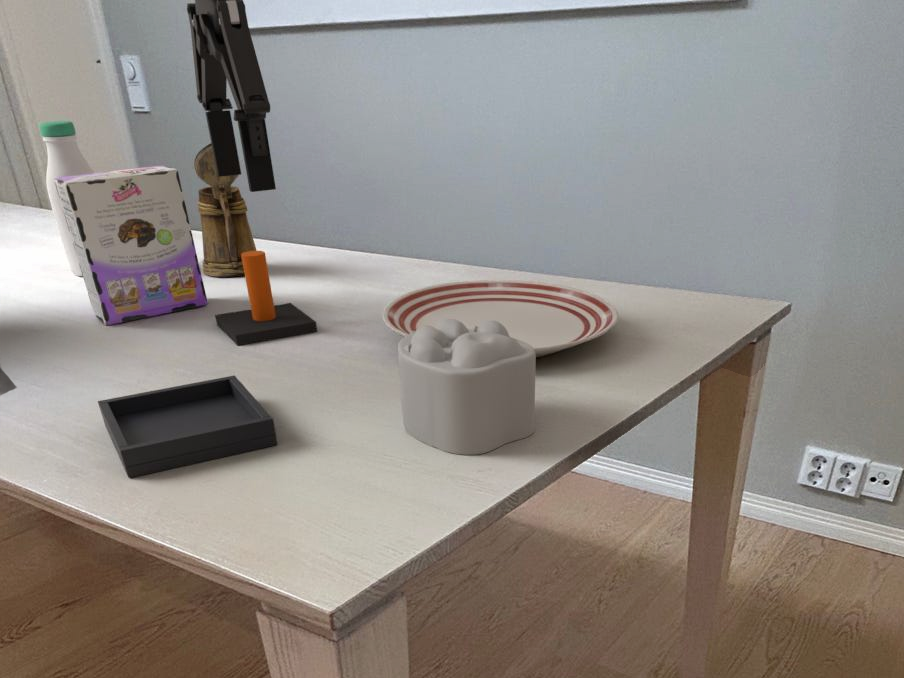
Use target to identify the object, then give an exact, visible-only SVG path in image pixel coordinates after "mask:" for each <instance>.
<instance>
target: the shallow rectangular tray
mask: <svg viewBox="0 0 904 678" xmlns="http://www.w3.org/2000/svg"><path fill="white" fill-rule="evenodd" d="M97 404H98V407H99V410H100V414H101V417H102V420H103V423H104V426H105V429H106V431H107V433H108V435H109V438H110V440H111V443H112V444H113V447H114V449H115V451H116V453H117V456H118V458H119V460H120V462H121V464H122V467H123V469H124V472H125V473H126V476H127V477H128V479H131V478H135V477H140V476H144V475H149V474H153V473H159V472H162V471H167V470H172V469H176V468H181V467H186V466H190V465H193V464H198V463H204V462H208V461H212V460H216V459H221V458H224V457H230V456H233V455H234V456H235V455H238V454H239V455H240V454H242V453H243V454H244V453H246V452H251V451H255V450H261V449H265V448H269V447H274V446H277V445H278V444H279V442H278V437H277V431H276V427H275V421H274V418H273V417H272V416H271V415H270V413H269V412H268V411H267V410H266V409H265V407H263V405H262V404H261V403H260V402H259V401H258V400H257V399H256V398H255V396H254V395H253V394H252V393H251V392H250V391H249V390H248V389H247V388H246V387H245V386H244V384H243V383H242V382H241V381H240V380H239V379H238V378H237V376H236V375H229V376H224V377H223V376H222V377H219V378H213V379H208V380H202V381H198V382H191V383H187V384H182V385H176V386H170V387H166V388H160V389H155V390H150V391H143V392H138V393H135V394H133V393H132V394H129V395H123V396H118V397H112V398H108V399H107V398H106V399H102V400H98V401H97ZM278 446H279V445H278Z"/></svg>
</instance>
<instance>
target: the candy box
mask: <svg viewBox="0 0 904 678" xmlns="http://www.w3.org/2000/svg"><path fill="white" fill-rule="evenodd" d="M54 181H55V185H56V188H57V191H58V195H59V198H60V201H61V205H62V208H63V211H64V215H65V218H66V221H67V225H68V228H69V231H70V234H71V238H72V241H73V245H74V248H75V251H76V255H77V258H78V262H79V265H80V268H81V271H82V275H83V276H82V277H83V278H82V279H83V281H84V285H85V288H86V291H87V296H88V299H89V301H90V305H91V308H92V312H93V315H94V316H95V317H96V318H97V319H98V320H99V321H101V322H102V324H103V325H105V326H112V325H116V324H117V325H118V324H122V323H125V322H129V321H136V320H141V319H146V318H149V317H150V318H151V317H155V316H160V315H164V314H165V315H166V314H169V313H174V312H179V311H183V310H188V309H194V308H198V307H201V306H206V305H208V304H209V303H208V297H207V293H206V289H205V285H204V280H203V276H202V272H201V267H200V263H199V259H198V254H197V250H196V245H195V241H194V235H193V233H192V228H191V227H192V226H191V224H190V219H189V214H188V210H187V205H186V201H185V198H184V192H183V189H182V183H181V179H180V173H179V170H178V168H173V167H170V166H166V165H163V164H161V165H154V166H153V165H152V166H143V167H135V168H127V169H118V170H110V171H101V172H94V173H92V174H85V175H77V176H68V177H61V178H54Z"/></svg>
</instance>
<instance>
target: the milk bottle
mask: <svg viewBox="0 0 904 678" xmlns="http://www.w3.org/2000/svg"><path fill="white" fill-rule="evenodd" d="M38 129H39V132H40V134H41V136H42V141H43V142H45V145H46V149H47V166H46V177H45V182H46V183H45V184H46V190H47V194H48V198H49V202H50V207H51V209H52V213H53V216H54V219H55V223H56V225H57V230H58V233H59V236H60V239H61V242H62V246H63V249H64V253H65V255H66V258H67V262H68V265H69V268H70V271H71V273H72V274H73V275H74V276H77V277H83V275H82V271H81V268H80V265H79V262H78V258H77V255H76V251H75V248H74V245H73V241H72V238H71V234H70V231H69V228H68V225H67V221H66V218H65V215H64V211H63V208H62V205H61V201H60V198H59V195H58V191H57V188H56V185H55V181H54V178H61V177H68V176H77V175H85V174H92V173H95V171H94V169H93V168H92V167H91V166H90V164H89V163H88V162H87V161H88V160H86V158H85V156H84V155H83V153H82V151H81V150H80V148H79V145H78V142H77V139H78V137H77V134H76V133H77V132H76V128H75V124H74V122H72V120H71V121H70V120H54V121H45V122H40V123H39V124H38Z"/></svg>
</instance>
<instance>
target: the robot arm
mask: <svg viewBox="0 0 904 678" xmlns="http://www.w3.org/2000/svg"><path fill="white" fill-rule="evenodd" d="M186 13H187V16H188V21H189V26H190V35H191V45H192V55H193V64H194V67H193V68H194V75H195V86H196V98H197V101H198V103H199V104H201V105H202V108H203V110H204V111H205V119H206V123H207V128H208V133H209V139H210V143H211V144H212V149H213V154H214V159H215V165H216V170H217V175H218V176H219V177H221V176H231V175H238V176H240V175H242V169H241V164H240V163H241V162H240V158H239V154H238V153H239V152H238V148H237V142H236V136H235V130H234V125H233V121H234V122H237V125H238V132H239V139H240V143H241V149H242V154H243V160H244V167H245V172H246V177H247V184H248V190H249V192H251V193H256V192H263V191H264V192H266V191H273V190H274V191H275V190H277V187H276V181H275V175H274V167H273V162H272V155H271V149H270V143H269V136H268V130H267V124H266V118H267V114H269V113H270V112H271V103H270V100H269V97H268V93H267V90H266V86H265V82H264V79H263V75H262V72H261V68H260V67H261V66H260V63H259V60H258V57H257V53H256V49H255V44H254V42H253V38H252V35H251V31H250V27H249V23H248V16H247V11H246V4H245V2H244V0H194V3H193V2H190V3H186ZM227 85H228V86H229V89H230V91H231V95H232V97H233V100H234V103H235V106H236V109H234V110H233V107H234V106H233V105H232V102H231V100H230V98H227ZM231 110H233V120H232V114H231Z"/></svg>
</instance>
